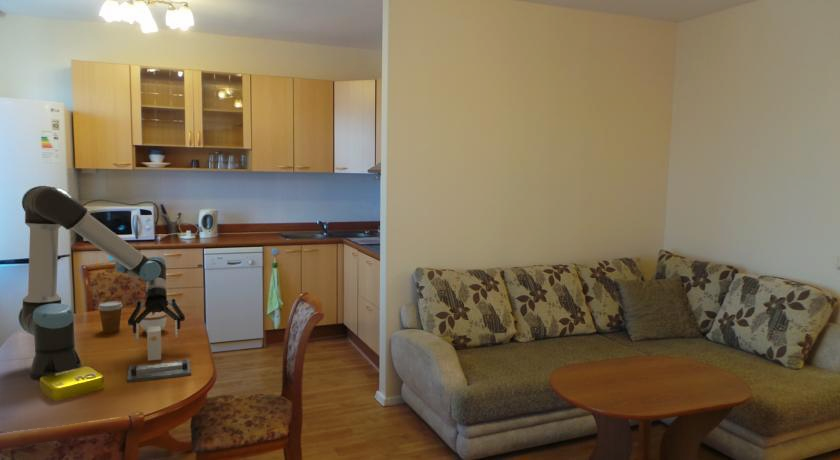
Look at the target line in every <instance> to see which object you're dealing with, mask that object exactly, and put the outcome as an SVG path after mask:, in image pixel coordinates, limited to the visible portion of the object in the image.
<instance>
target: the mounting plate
mask: <svg viewBox="0 0 840 460" xmlns="http://www.w3.org/2000/svg"><path fill="white" fill-rule="evenodd" d="M191 369H192V368H191V361H190V359H186V358H185V359H182V360H174V361H173V360H172V361H171V360H170V361H164V362H163V361H162V362H155V363H145V364H143V363H142V364H138V365H137V364H132V365H129V367H128V371H127V378H126V383H133V382H136V383H137V382H142V381H143V382H144V381H151V380H152V379H153V380H159V379H167V378H168V379H169V378H176V377H184V376H191V375H192V374H191V373H192V372H191Z"/></svg>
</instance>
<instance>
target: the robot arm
mask: <svg viewBox="0 0 840 460" xmlns="http://www.w3.org/2000/svg"><path fill="white" fill-rule="evenodd" d="M21 206H22V210H23V212H24V224H25V225H26V226H28V228H29V251H28V252H29V253H28V258H29V259H28V281H27V282H28V285H27V286H28V289H27V291H28V292H27V295H26V296H25V297H23V298H22V308H21V309H20V311H19V313H18V322H19V325H20V326H21V328H22V329H23V330H24V331H25V332H26V333H28V334H30V335H31V336H32V337H34V352H35V353H34V357H33V360H32V363H31V366H30V369H29V376H30V378H31V379H33V380H36V381H40V378H41V377H42V376H46V375H51V374H55V373H59V372H64V371H68V370H72V369H77V368H81V367H82V362H81V359H80V357H79V354H78V352H77V349H76V345H75V343H76V342H75V341H76V340H75V323H74V322H75V321H74V320H75V314H74V311H73V308H72V307H71V306H69V304H65V303H62V297H61V295H59V294H57V290H58V289H57V286H58V282H57V281H58V258H59V256H58V255H59V229H60V228H61V227H63V228H64V229H66V230H69V231H70V230H73V232H75V233H76V234H78V235H79V236H81V237H82V238H83V239H84V240H86V241H88V242H89V243H91V244H92V245H94V246H95V247H96V248H98V249H99V250H100V251H102V252H103V253H105V254H106V255H107V256H109V257H110V258H112V259H113V260H115V263H114V264H115V265H114V268H115V271H117V272H119V273H122V274H126V275H130V276H133V277H136V278H139V279H141V280H144V281H145V302H141V301H140V300H139V301H137V304H136V307H135V309H134V310H133V311H132V314H131V315H130V317H129V318H128V320H127V326H132V333H133V334H135V336H136V337H135V341H136V343H139V341H140V338H139V337H140V329H139V328H140V326H139V325H140V322H141V321H142V320H143V319H144V318H145V317H146V316H147V315H148V314H149V313H150V312H153V313H155V312H164V313H166V314H167V316H169V317H170V318H171V319H172V320H173V321H174V330H175V331H174V333H175V335H174V336H175V339H177V338H178V335H179V334H178V330H181V322H184V321H185V320H186V316H185V314H184V313H183V311H182V310H181V309H180V307H179V306H178V305H177V303H176V299H175V298H172V299H171V300H168V297H167V295H168V294H167V264H166V260H165V258H162V257H161V256H150V257H147V256H146V255H144V254H143V253H142V252H140V250H137V249H136V248H135V247H133V246H132V245H131V244H130V243H128V242H127V241H126V240H125V239H123V238H122V237H121V236H119V235H118V234H116V232H115V231H114V232H113V231H112V230H111V229H110V228H108V227H107V226H106V225H105V224H104V223H102V222H100V221H99V220H98V219H97V218H95V217H94V216H93V215H91V214H90V213H89V209H88V208H87V207H86V206H85V205H84V204H82V203H80V201H78V200H77V199H75V197H74V196H72V195H71V194H69V192H67V191H66V190H64V189H62V188H59V187H55V186H49V185H48V186H47V185H38V186H34V187H32V188H29V189H28V190H27V191H26V192H25V193H24V194H23V196H22V199H21ZM168 305H170V306H171V307H172V309H173V310H174V311H175V312H173V311H172V310H171V309H170V308H169V307H168ZM144 307H145V308H144ZM143 308H144V310H143V311H142V312H141V313H140V311H141V310H142V309H143ZM139 313H140V314H139Z"/></svg>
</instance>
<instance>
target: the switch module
mask: <svg viewBox="0 0 840 460" xmlns="http://www.w3.org/2000/svg"><path fill="white" fill-rule="evenodd" d="M146 337H147V339H146V341H147V343H146V344H147V361H148V362H149V361H157V360H162V330H161V325H159V326H148V329H147V333H146Z"/></svg>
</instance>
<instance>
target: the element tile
mask: <svg viewBox="0 0 840 460" xmlns="http://www.w3.org/2000/svg"><path fill="white" fill-rule="evenodd" d="M39 386H40V387H39V388H40V391H41V392H42V393H43V394H45V395H46V396H47V397H48V398H49V399H51V401H62V400H66V399H68V398H73V396H74V397H76V396H77V395H78V396H81V395H85V394H88V393H87V392H89V393H92V392H91V391H93V392H95V390H97V391H99V389H100V390H102V388H103V387H104V388H105V381H104V375H103V374H101V373H100V372H98V371H97V370H95V369H94V368H92V367H91V366H86V365H85V366H81V368H77V369H72V370H68V371H64V372H59V373H55V374H51V375H46V376H42V377H41V378H40V380H39ZM104 388H103V389H104ZM84 393H85V394H84ZM80 394H81V395H80ZM78 396H77V397H78Z"/></svg>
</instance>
